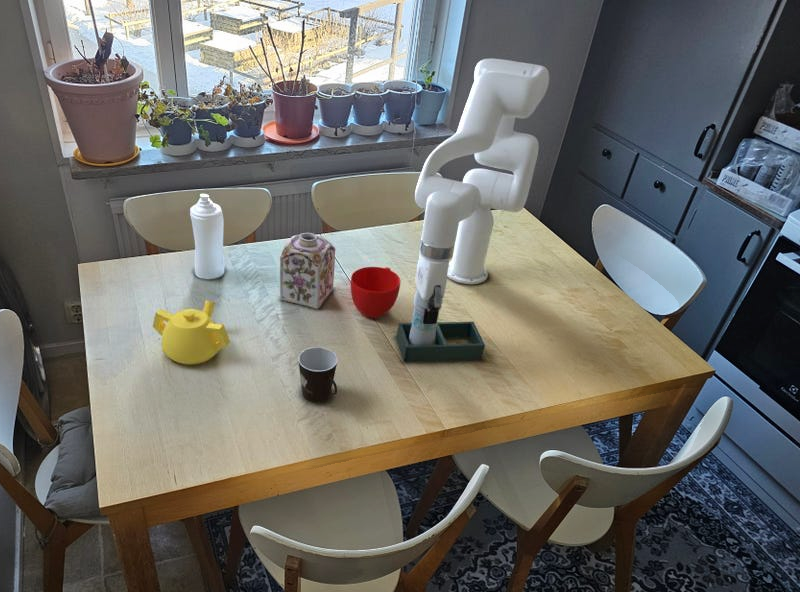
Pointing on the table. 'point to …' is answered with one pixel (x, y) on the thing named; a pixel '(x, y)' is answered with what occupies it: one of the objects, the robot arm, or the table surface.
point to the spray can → (208, 238)
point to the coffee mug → (317, 373)
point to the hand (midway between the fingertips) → (426, 313)
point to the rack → (442, 343)
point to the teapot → (190, 334)
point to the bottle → (421, 323)
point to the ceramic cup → (374, 290)
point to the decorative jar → (307, 270)
